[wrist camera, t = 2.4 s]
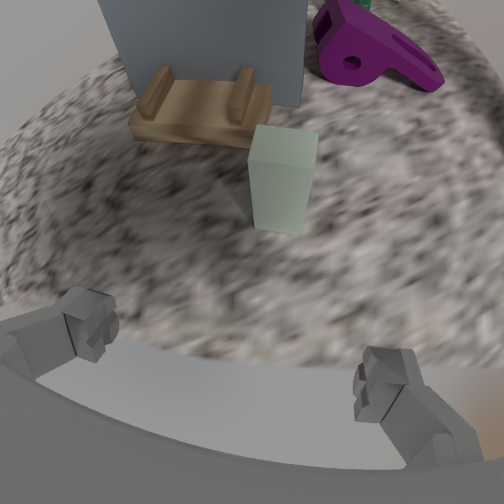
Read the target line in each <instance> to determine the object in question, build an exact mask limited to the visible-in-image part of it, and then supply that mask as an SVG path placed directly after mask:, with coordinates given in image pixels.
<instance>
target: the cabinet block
mask: <svg viewBox="0 0 504 504" xmlns="http://www.w3.org/2000/svg"><path fill="white" fill-rule="evenodd" d="M318 135H319V133H317V132H311V131H305V130H298V129H291V128H284V127H277V126H269V125H260V124H257V126H256V130H255V133H254V137H253V141H252V145H251V149H250V152H249V156H248V169H249V178H250V188H251V198H252V207H253V217H254V226H255V229H260V230H266V231H272V232H278V233H284V234H290V235H296V236H301V231H302V227H303V222H304V217H305V213H306V208H307V204H308V199H309V194H310V189H311V185H312V180H313V175H314V170H315V162H316V153H317V144H318Z"/></svg>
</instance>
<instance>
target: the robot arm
mask: <svg viewBox="0 0 504 504" xmlns="http://www.w3.org/2000/svg"><path fill="white" fill-rule="evenodd" d="M115 308H116V301H115V298H114V297H113V296H112V295H109V294H105V293H102V292H99V291H96V290H92V289H88V288H85V287H82V286H79V285H78V286H74V287H73V288H72V289H71V290H69V291H68V292H67V293H66V294H65V295H64V296H62V297H61V298H60V299H59V300H58V301H57V302H56V303H55V304H53V305H52V306H51V307H50V308H47V307H45V308H42V309H39V310H35V311H32V312H29V313H26V314H22V315H19V316H16V317H13V318H10V319H6V320H3V321H0V504H504V457H502V458H497V459H492V460H486V461H484V458H483V455H482V451H481V448H480V444H479V441H478V437H477V434H476V431H475V429H474V428H473V427H472V426H470V425H469V424H468V423H467V422H466V421H465V420H464V419H463V418H462V417H461V416H460V415H459V414H458V413H457V412H456V411H455V410H454V409H453V408H451V407H450V406H449V405H448V404H447V403H446V402H445V401H444V400H443V399H442V398H441V397H440V396H439V395H438V394H437V393H435V392H434V391H433V390H432V389H431V388H430V387H429V386H425V385H424V382H423V379H422V375H421V372H420V369H419V365H418V362H417V359H416V356H415V353H414V351H413V350H412V349H400V348H397V349H395V348H385V347H376V346H367V347H366V349H365V350H364V353H363V363H361V364H360V365H358V367H357V370H356V372H355V376H354V380H353V394H354V395H355V397H356V398H357V399H356V401H355V404H354V415H355V421H357V422H367V423H380V425H381V427H382V428H383V430H384V431H385V433H386V434H387V436H388V437H389V439H390V440H391V442H392V443H393V444H394V446H395V447H396V449H397V450H398V452H399V453H400V455H401V456H402V458H403V459H404V461H405V462H406V463H407V465H406V466H405V467H404V468H403V469H400V470H358V469H336V468H322V467H312V466H302V465H294V464H285V463H278V462H272V461H266V460H260V459H254V458H248V457H243V456H238V455H233V454H229V453H224V452H220V451H216V450H211V449H207V448H203V447H199V446H196V445H192V444H188V443H185V442H181V441H178V440H174V439H171V438H168V437H165V436H161V435H158V434H155V433H152V432H149V431H146V430H144V429H141V428H138V427H135V426H132V425H130V424H127V423H124V422H122V421H119V420H117V419H114V418H112V417H109V416H107V415H104V414H102V413H99V412H97V411H94V410H92V409H90V408H88V407H86V406H83V405H81V404H79V403H77V402H75V401H73V400H71V399H69V398H66V397H64V396H62V395H60V394H58V393H56V392H54V391H52V390H50V389H49V388H47V387H45V386H43V385H41V384H39V383H37V382H36V380H35V379H36V378H38V377H40V376H42V375H44V374H46V373H47V372H49V371H51V370H53V369H55V368H57V367H59V366H61V365H63V364H65V363H67V362H68V361H70V360H72V359H74V358H76V356H77V357H80V358H82V359H85V360H88V361H91V362H94V363H97V361H98V360H99V359H100V358H101V356H102V355H103V354H104V352H105V345H108V344H110V343H112V342H113V341H114V339H115V338H116V336H117V333H118V330H119V319H118V316H117V315H116V313H115V312H114V309H115Z"/></svg>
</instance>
